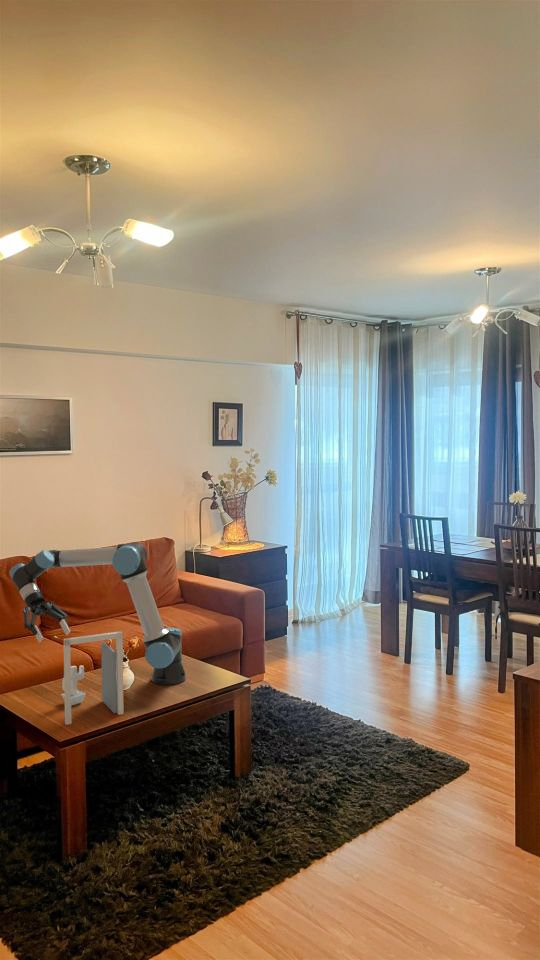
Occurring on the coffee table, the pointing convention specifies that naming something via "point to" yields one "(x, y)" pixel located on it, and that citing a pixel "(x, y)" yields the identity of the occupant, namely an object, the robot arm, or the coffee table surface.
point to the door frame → (67, 668)
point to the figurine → (75, 685)
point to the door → (109, 677)
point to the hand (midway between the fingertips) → (55, 636)
